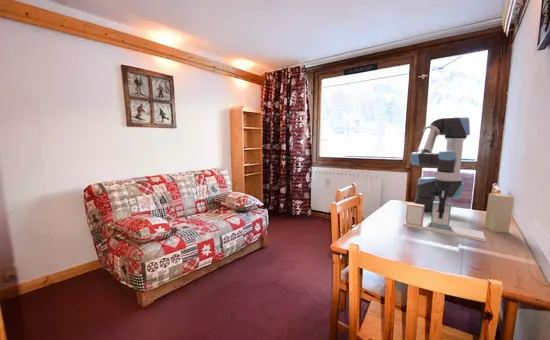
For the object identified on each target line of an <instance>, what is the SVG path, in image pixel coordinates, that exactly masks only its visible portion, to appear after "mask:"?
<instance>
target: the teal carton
mask: <svg viewBox="0 0 550 340" xmlns="http://www.w3.org/2000/svg"><path fill="white" fill-rule="evenodd" d="M438 209H439V201H436V200H435V201H433V207H432V212H431V220H430V222H431V224H432V225H437V226H443V227H448V228H449V226H450V220H451V219H450V218H451V210H452V203H451V202H450V203H449V202H445V207H444V219H443V225H441V224H437V217H438V212H437V211H438Z"/></svg>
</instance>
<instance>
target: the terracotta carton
mask: <svg viewBox="0 0 550 340" xmlns="http://www.w3.org/2000/svg"><path fill="white" fill-rule="evenodd" d="M424 207H425V205H421V204H415V203H414V202H408V203H407V205H406V217H405V221H406V223H408V224H413V225H418V226H423V221H424V216H425V215H424V214H425V211H424Z"/></svg>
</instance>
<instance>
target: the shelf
mask: <svg viewBox="0 0 550 340" xmlns="http://www.w3.org/2000/svg"><path fill="white" fill-rule="evenodd" d="M402 224H403V225H402V226H404V227H408V228H414V229H419V230H423V231H430V232H433V233H439V234H445V235H449V236H453V237H460V238H464V239H470V240H475V241H481V242H485V243H486V242H487V238H486V237H485V234H484V231H481V230H475V229H469V228H463V227H458V226H452V225H449V228H448V227H443V226H437V225H432V224H431V221H424V220H423V226H418V225H413V224H408V223H406V220H405V221H404V222H403V223H402Z"/></svg>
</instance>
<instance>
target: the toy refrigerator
mask: <svg viewBox="0 0 550 340" xmlns="http://www.w3.org/2000/svg"><path fill="white" fill-rule="evenodd" d="M514 200H515V197H514V196H513V195H508V194H507V193H506V194H504V193H488V198H487V203H486V204H487V205H486V213H485V222H484V229H486V230H489V231H490V232H492V233H509V232H510V228H511V227H510V226H511V219H512V213H513V208H514V207H513V206H514Z"/></svg>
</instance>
